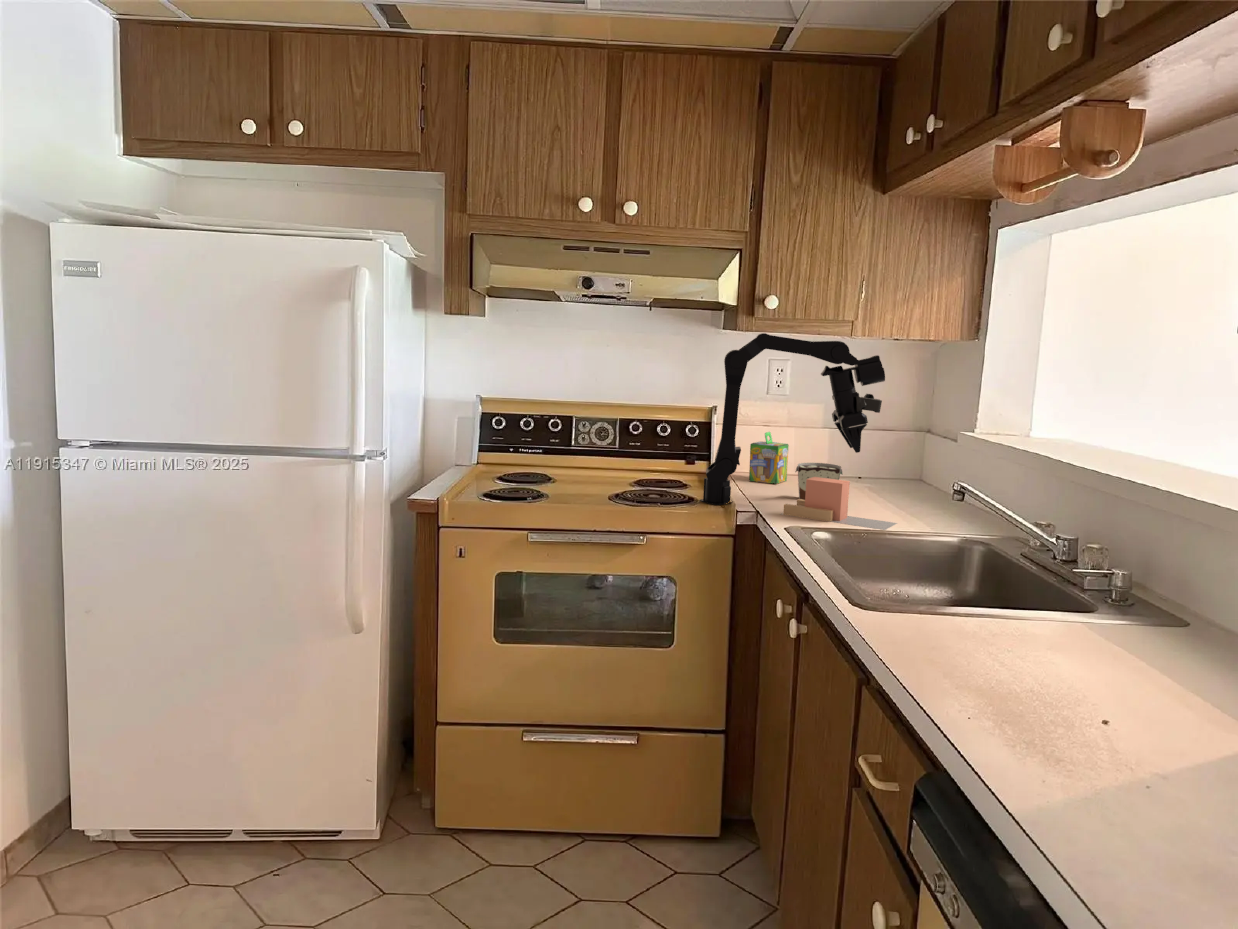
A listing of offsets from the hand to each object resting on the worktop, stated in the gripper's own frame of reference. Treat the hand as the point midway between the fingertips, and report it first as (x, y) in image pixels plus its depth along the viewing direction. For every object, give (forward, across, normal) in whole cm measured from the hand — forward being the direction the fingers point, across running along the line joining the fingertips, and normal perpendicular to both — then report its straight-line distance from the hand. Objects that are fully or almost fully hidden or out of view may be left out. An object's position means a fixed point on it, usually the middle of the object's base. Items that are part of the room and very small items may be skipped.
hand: (855, 449), depth 230 cm
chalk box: (+11, +39, +22) cm, 46 cm away
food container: (+13, +10, +11) cm, 20 cm away
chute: (+14, -16, +9) cm, 23 cm away
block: (+12, -14, +12) cm, 22 cm away
